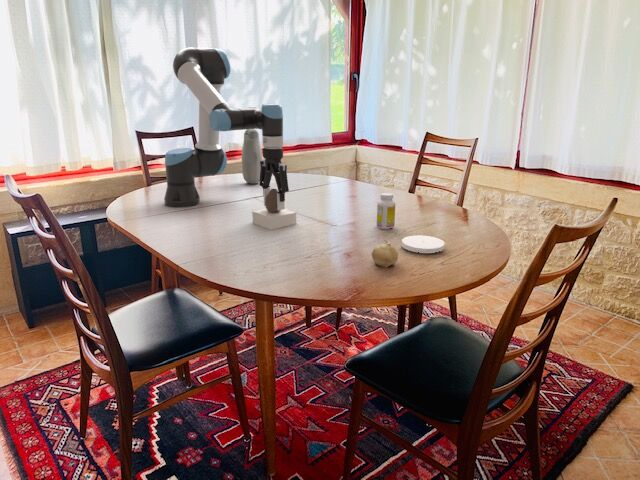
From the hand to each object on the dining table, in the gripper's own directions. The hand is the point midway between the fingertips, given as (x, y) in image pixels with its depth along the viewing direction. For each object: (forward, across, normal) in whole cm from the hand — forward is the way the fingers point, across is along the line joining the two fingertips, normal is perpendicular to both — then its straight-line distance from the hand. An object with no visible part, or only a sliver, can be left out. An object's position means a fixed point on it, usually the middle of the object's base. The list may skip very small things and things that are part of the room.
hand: (274, 207), depth 193 cm
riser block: (+7, 0, 0) cm, 7 cm away
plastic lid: (+7, +55, +21) cm, 59 cm away
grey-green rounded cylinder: (+6, -66, +34) cm, 75 cm away
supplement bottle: (+6, +31, +29) cm, 43 cm away
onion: (+7, +57, 0) cm, 57 cm away
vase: (+2, 0, 0) cm, 2 cm away
